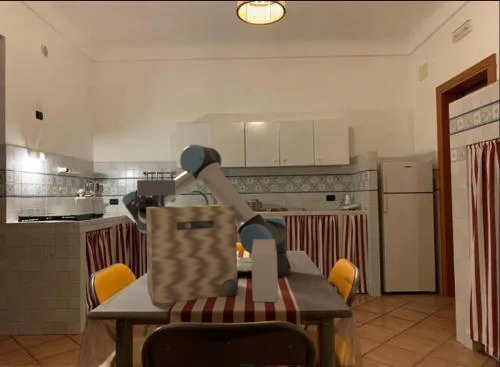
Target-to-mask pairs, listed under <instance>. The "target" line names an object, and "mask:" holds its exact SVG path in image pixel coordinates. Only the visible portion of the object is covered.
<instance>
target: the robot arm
mask: <svg viewBox="0 0 500 367" xmlns="http://www.w3.org/2000/svg"><path fill="white" fill-rule="evenodd" d="M179 156H180V158H179V159H180V160H179V163H180V166H181V169H182V170H183V172H182V173H180V174H179V175H178V176H176V177H175V178H173V179H172V180H175V195H155V196H137V189H135V190H134V191H133V190H132V191H128V192H127V193H126V194H124V195H123V197H122V199H121V201H122V204H124V207H125V209H127V211H128V212H129V214H130V216H132V218H133V220H134V221H135V223H136V227H137V230H138V231H139V232H140V233H142V234H147V228H146V207H166V204H168V203H170V202H171V201H173V200H174V199H176V198H177V197H178V196H179V195H181V194H182V193H184V192H186V191H187V190H188V189H190V188H191V187H193V186H194V185H196V184H197V183H203V184H204V185H205V187H206V188H207V189H208V190H209V192H210V193H211V195H212V196H213V198H215V200H216V201H217V202H218V204H219V205H235V206H236V234H238V235H239V238H240V239H239V240H240V245H241V247H242V248H243V250H245V251H246V252H247V253H249V254H251V253H252V247H253V239H275V245H276V249H277V277H279V278H281V277H285V276H289V275H291V274H292V265H291V263H290V261H289V257H288V255H287V254H288V251H287V224H286V220H284V218H275V217H272V218H271V217H270V218H268V217H263V216H262V215H261V214H260V213H257V212H254V210H253V209H252V208H251V207H250V206H249V204H248V203H247V202H246V201H245V200H244V198H243V197H242V196H241V195H240V194H239V192H238V191H237V189H235V187H234V186H233V185H232V183H231V182H230V181H229V179H228V178H227V177H226V176H225V175H224V173H223V172H222V171H221V170H220V168H221V165H222V157H221V154H220V153H219V152H218V150H216V149H215V148H214V147H213V148H212V147H208V146H204V145H200V144H189V145H187V146H186V147H185V148H184V149H183V150H182V152H181V154H180V155H179ZM156 180H159V179H156Z"/></svg>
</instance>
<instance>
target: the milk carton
mask: <svg viewBox="0 0 500 367" xmlns="http://www.w3.org/2000/svg"><path fill="white" fill-rule="evenodd" d="M250 254H251V258H250V259H251V283H252V285H251V287H252V290H251V291H252V292H251V293H252V302H259V303H260V302H263V303H275V302H276V301H277V299H278V297H279V284H278V282H279V280H278V277H277V249H276V245H275V239H253V247H252V253H250Z"/></svg>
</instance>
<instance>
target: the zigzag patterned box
mask: <svg viewBox="0 0 500 367" xmlns="http://www.w3.org/2000/svg"><path fill="white" fill-rule="evenodd" d="M146 228H147V233H146V273H147V274H146V276H147V278H146V279H147V280H146V281H147V293H148V295H149V298H150V301H151V303H152V305H159V304H160V305H162V304H168V303H177V302H182V301H183V302H185V301H192V300H199V299H200V300H201V299H207V298H208V299H209V298H216V297H222V296H228V297H233V296H235V295H238V294H239V285H238V284H239V283H238V282H239V281H238V254H237V253H238V250H237V244H238V243H237V225H236V206H235V205H220V204H204V205H203V204H202V205H201V204H200V205H198V204H197V205H177V206H176V205H175V206H172V205H171V206H164V207H146Z"/></svg>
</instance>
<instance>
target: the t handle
mask: <svg viewBox="0 0 500 367" xmlns="http://www.w3.org/2000/svg"><path fill="white" fill-rule="evenodd" d="M136 190H137V196H155V195H175V180H173V179H158V180H157V179H151V180H150V179H142V180H141V179H138V180H136Z"/></svg>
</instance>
